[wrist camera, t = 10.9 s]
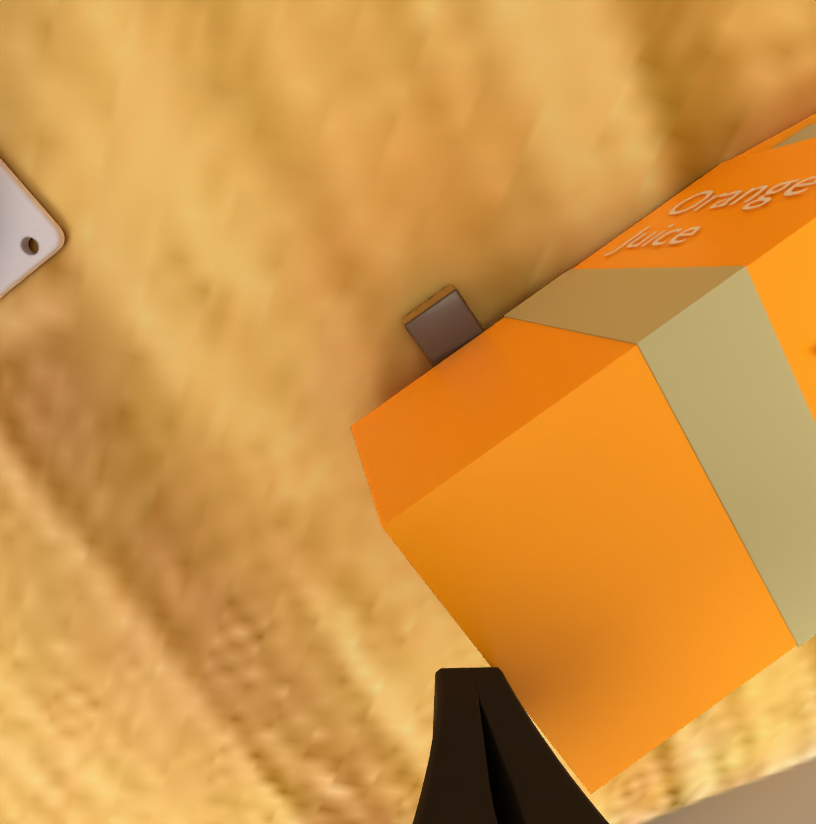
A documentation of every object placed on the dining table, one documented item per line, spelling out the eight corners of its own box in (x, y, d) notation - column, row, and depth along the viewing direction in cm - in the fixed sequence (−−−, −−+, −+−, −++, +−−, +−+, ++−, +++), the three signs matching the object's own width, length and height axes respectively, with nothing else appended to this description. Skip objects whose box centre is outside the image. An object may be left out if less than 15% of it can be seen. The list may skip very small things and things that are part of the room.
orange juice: (348, 423, 18) (855, 63, 18) (490, 612, 21) (934, 294, 21) (381, 529, 11) (1238, -83, 11) (597, 804, 13) (1287, 305, 13)
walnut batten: (574, 562, 23) (587, 584, 21) (401, 317, 19) (403, 325, 18) (617, 536, 22) (633, 557, 21) (450, 283, 19) (456, 288, 18)
